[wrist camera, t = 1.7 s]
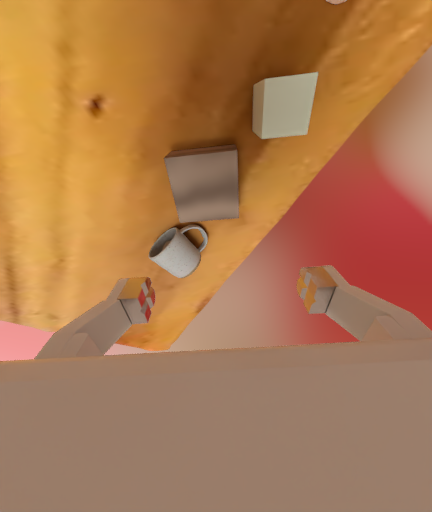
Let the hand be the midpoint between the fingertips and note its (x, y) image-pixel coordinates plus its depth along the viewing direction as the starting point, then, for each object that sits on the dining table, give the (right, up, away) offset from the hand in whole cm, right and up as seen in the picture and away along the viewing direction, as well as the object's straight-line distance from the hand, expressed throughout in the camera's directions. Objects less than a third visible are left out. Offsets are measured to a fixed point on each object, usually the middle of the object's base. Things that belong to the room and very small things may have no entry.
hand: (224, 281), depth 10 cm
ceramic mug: (-7, +5, +30) cm, 31 cm away
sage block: (+7, +22, +15) cm, 28 cm away
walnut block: (-2, +14, +22) cm, 26 cm away
